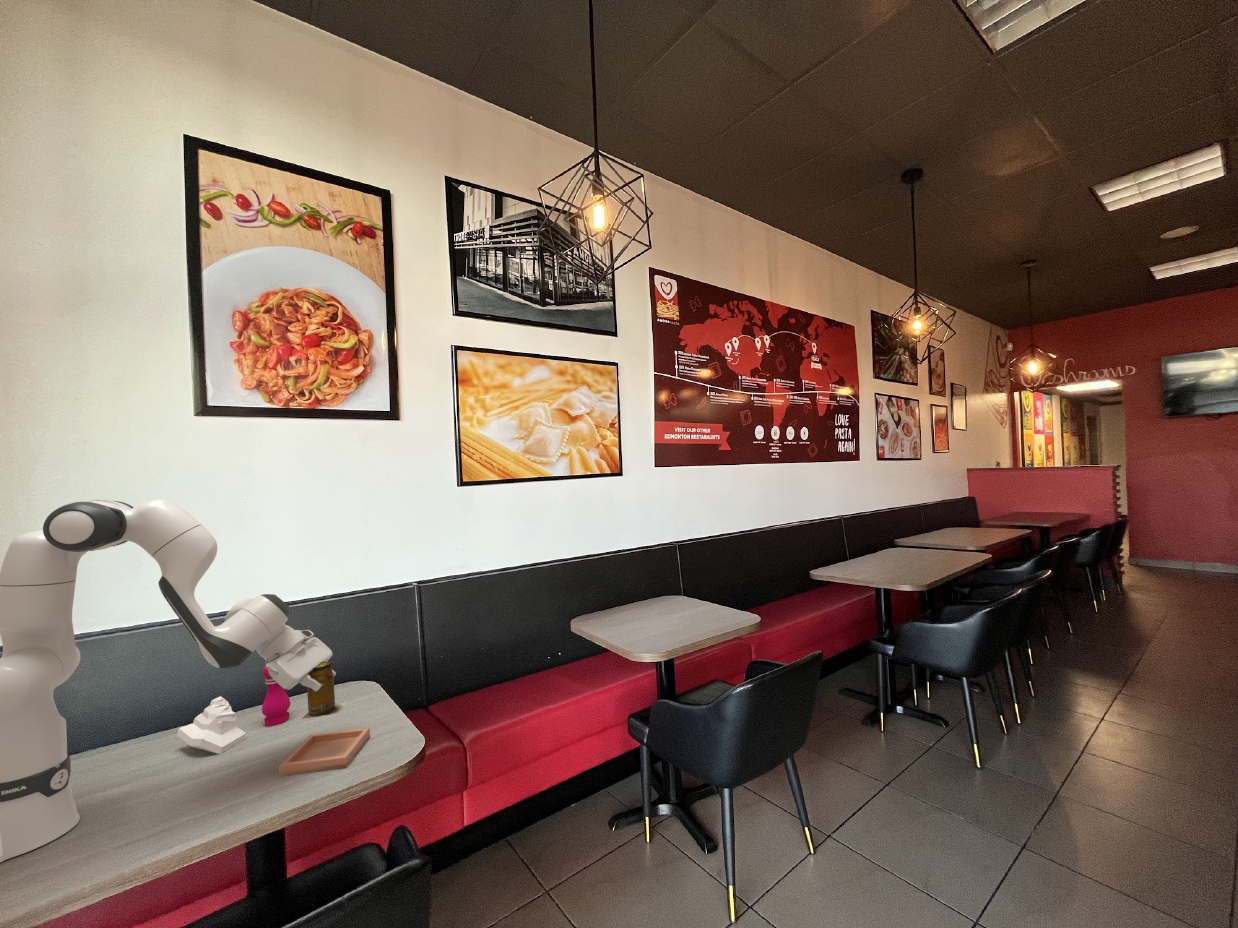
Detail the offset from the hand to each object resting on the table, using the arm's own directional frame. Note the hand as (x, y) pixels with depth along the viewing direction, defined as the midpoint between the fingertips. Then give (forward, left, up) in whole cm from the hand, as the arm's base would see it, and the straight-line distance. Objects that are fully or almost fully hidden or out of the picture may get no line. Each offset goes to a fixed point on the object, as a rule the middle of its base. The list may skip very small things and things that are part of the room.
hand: (326, 682), depth 131 cm
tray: (-1, 0, -19) cm, 19 cm away
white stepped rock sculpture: (-37, +14, -19) cm, 43 cm away
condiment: (-1, 0, -7) cm, 7 cm away
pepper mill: (-27, +26, -19) cm, 42 cm away
